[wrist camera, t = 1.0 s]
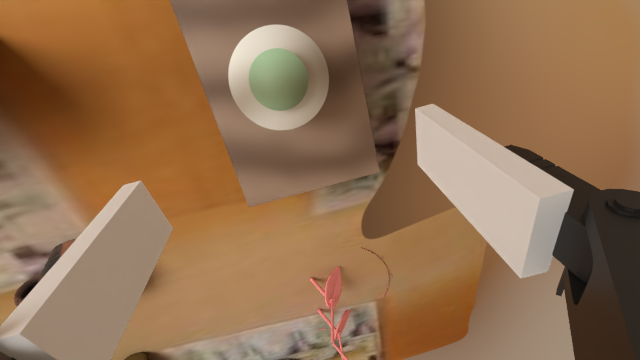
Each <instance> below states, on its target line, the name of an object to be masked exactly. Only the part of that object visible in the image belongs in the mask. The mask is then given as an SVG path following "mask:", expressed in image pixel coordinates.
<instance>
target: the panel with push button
mask: <svg viewBox="0 0 640 360" xmlns="http://www.w3.org/2000/svg"><path fill="white" fill-rule="evenodd" d="M170 1H171V4H172V6H173V9H174V12H175V14H176V17H177V20H178V22H179V25H180V27H181V30H182V33H183V35H184V38H185V41H186V43H187V46H188V48H189V51H190V54H191V56H192V59H193V62H194V64H195V67H196V70H197V72H198V75H199V77H200V80H201V83H202V85H203V88H204V91H205V93H206V96H207V98H208V101H209V104H210V106H211V109H212V112H213V114H214V117H215V119H216V122H217V125H218V127H219V130H220V133H221V135H222V138H223V140H224V143H225V146H226V148H227V151H228V154H229V156H230V159H231V161H232V164H233V167H234V169H235V172H236V175H237V177H238V180H239V182H240V185H241V188H242V190H243V193H244V196H245V198H246V201H247V204H248V206H249V207H252V206H255V205H259V204H263V203H267V202H270V201H274V200H278V199H281V198H285V197H289V196H293V195H296V194H300V193H304V192H308V191H311V190H315V189H319V188H322V187H326V186H330V185H334V184H337V183H341V182H345V181H349V180H352V179H356V178H360V177H363V176H367V175H371V174H375V173H378V172H380V171H379V166H378V161H377V155H376V150H375V145H374V140H373V134H372V129H371V124H370V119H369V114H368V108H367V103H366V98H365V93H364V87H363V82H362V77H361V72H360V67H359V61H358V56H357V51H356V46H355V40H354V35H353V30H352V25H351V20H350V14H349V9H348V4H347V0H170Z"/></svg>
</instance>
